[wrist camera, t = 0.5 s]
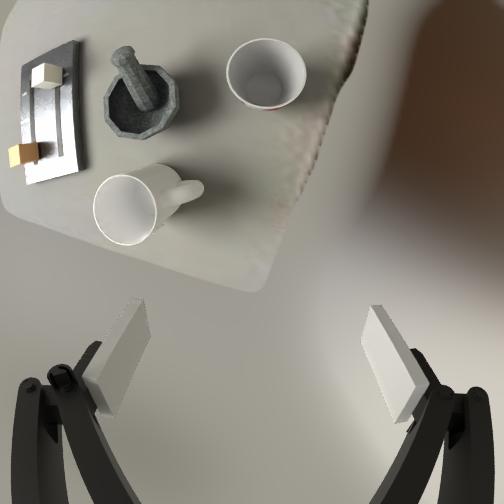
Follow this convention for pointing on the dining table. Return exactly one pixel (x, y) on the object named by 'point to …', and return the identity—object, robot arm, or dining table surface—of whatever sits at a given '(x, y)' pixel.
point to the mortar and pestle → (139, 97)
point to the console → (53, 116)
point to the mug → (141, 202)
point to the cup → (266, 74)
